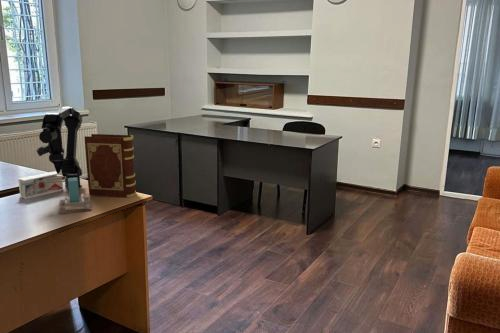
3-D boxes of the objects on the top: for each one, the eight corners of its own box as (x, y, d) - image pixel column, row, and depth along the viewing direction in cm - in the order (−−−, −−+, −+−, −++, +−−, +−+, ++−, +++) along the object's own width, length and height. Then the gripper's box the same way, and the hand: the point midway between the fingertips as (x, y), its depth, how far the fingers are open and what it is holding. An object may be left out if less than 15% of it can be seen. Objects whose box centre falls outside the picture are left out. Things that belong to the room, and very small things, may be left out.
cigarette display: (25, 199, 201) (23, 180, 199) (20, 196, 204) (18, 178, 202) (65, 189, 216) (63, 172, 214) (59, 187, 220) (57, 170, 217)
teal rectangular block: (70, 203, 193) (67, 178, 190) (79, 202, 195) (77, 177, 192) (70, 207, 188) (67, 181, 185) (79, 206, 189) (77, 180, 186)
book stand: (59, 201, 198) (58, 193, 197) (88, 198, 203) (88, 190, 202) (59, 214, 181) (58, 205, 180) (91, 210, 186) (90, 202, 185)
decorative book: (138, 193, 213) (135, 135, 205) (132, 197, 205) (129, 137, 198) (96, 191, 215) (91, 133, 207) (88, 195, 207) (83, 136, 200)
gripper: (37, 137, 203) (41, 168, 207) (35, 143, 187) (38, 177, 191) (62, 136, 208) (65, 166, 211) (62, 142, 191) (65, 175, 195)
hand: (58, 171), depth 202 cm, fingers open, 9 cm apart
